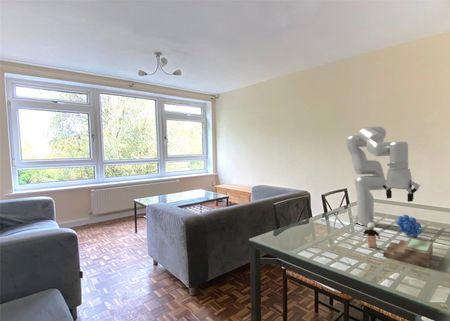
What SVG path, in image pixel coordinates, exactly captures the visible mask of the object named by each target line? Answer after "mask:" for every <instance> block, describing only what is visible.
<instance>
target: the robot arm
mask: <svg viewBox="0 0 450 321" xmlns="http://www.w3.org/2000/svg"><path fill="white" fill-rule="evenodd" d="M386 136H387V131H386V129H385V128H384V126H366V127H363V128H361V129H359V132H358V134H352V135H350V136H348V137H347V140H346V148H347V150H348V152H349V154H350V156H351V159H352V164H353V168H354V172H355V174H357V175H358V177H356V178H355V179H354V186H355V190H356V213H357V214H356V215H354V214H353V215H352V214H351V215H350V218H351V219H352V220H354V223H355V222H358V223H359V224H361V225H365V226H364V227H367V225H368V223H374V225H375V227H376V226H377V225H378V223H377V222H376V221H375V206H374V204H375V201H374V200H375V199H374V196H373V194H372V192H370V191H383V190H384V191H385V196H386V199H391V198H392V195H393V194H392V189H396V190H405V191H407V192H408V193H407V202H408V203H409V202H413V200H414V194H415V192H417V191H418V190H419V189H420V186H421V185H420V184H418V183H417V182H415V181H413V177H412V172H411V169H410V168H409V144H408V142H407V141H384V139H385V138H386ZM361 148H366V150H367V152H368V153H370V154H371V155H373V156H375V157H389V163H387V167H389V168H387V172H386V177H385V173H384V169H383V167H382V163H381V162H380V161H378V160H375V159H369V160H368V158H367V154H366V153H365V151H363V149H361ZM359 175H360V176H359ZM413 186H414V188H413ZM361 225H360V226H361Z"/></svg>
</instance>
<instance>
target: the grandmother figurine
mask: <svg viewBox="0 0 450 321" xmlns="http://www.w3.org/2000/svg"><path fill="white" fill-rule="evenodd" d="M366 227H367V228H368V229H365V230H364V231H363V233H362V236H363V237H365V235H367V238H366V239H367V240H366V241H367V242H366V243H367V248H369V249H371V248H372V249H375V250H376V249H378V248H379V247H378V245H377V239H378V240H380V239H381V237H380V234H379V233H378V231H377V230H375V227H376V226H375V225H374V223H368V225H367V226H366ZM376 237H377V238H376Z"/></svg>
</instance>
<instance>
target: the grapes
mask: <svg viewBox="0 0 450 321" xmlns="http://www.w3.org/2000/svg"><path fill="white" fill-rule="evenodd" d="M395 223H396V225H397V226H399V227H398V229H399V231H400V232H402V233H404V234H405V236H407V237H411V236H412V238H413V237H414V238H418V235H421V234H422V232H423V231H422V230H421V228H422V225H421V223H420V222H418V221H417V219H416V218H415V217H413V216H409V215H408V214H403V215H398V216H397V220H396V222H395Z"/></svg>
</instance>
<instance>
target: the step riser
mask: <svg viewBox="0 0 450 321" xmlns="http://www.w3.org/2000/svg"><path fill="white" fill-rule="evenodd" d="M433 245H434V243H433V241H428V240H423V239H418V238H413V237H411V238H410V239H409V241H407V240H402V239H401V240H400V241H399V242H393V241H390V243H389V244H388V246H387V247H386V248H385V249H384V251H383V257H385V258H386V259H387V258H388V259H391V260H396V261H400V262H404V263H407V264H412V265H416V266H419V267H424V268H427V269H429V267H430V264H431V260H432V257H433V251H434V249H433V248H434V247H433Z"/></svg>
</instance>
